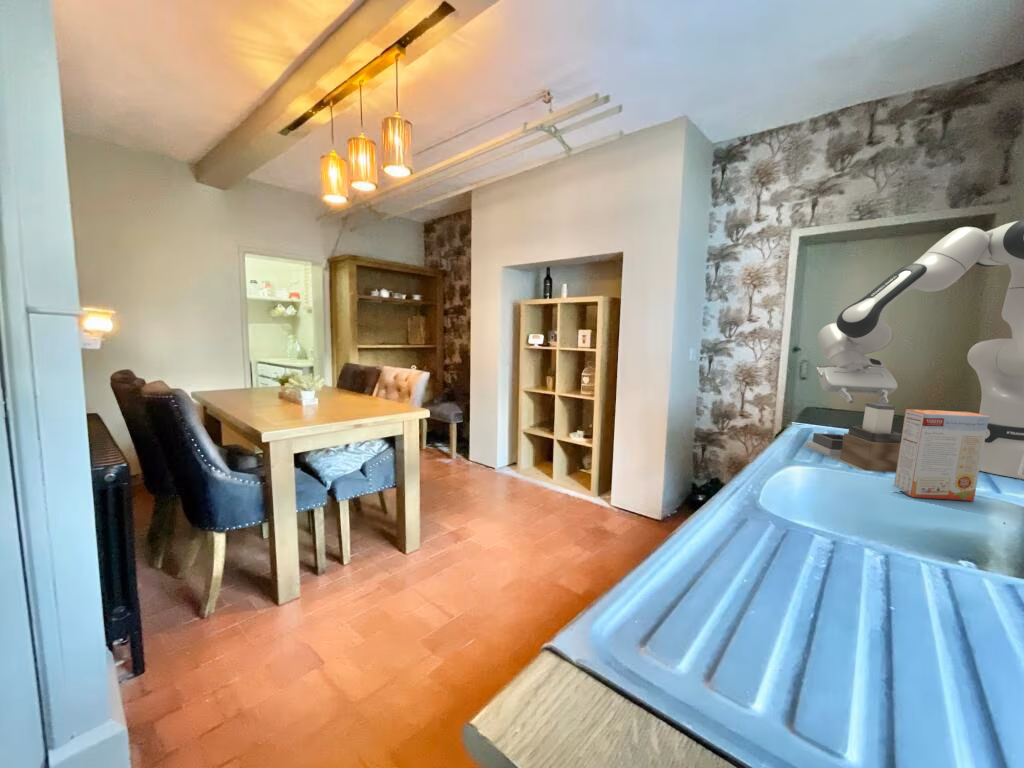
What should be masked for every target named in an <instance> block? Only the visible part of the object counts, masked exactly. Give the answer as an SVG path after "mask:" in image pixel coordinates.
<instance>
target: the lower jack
mask: <svg viewBox="0 0 1024 768" xmlns="http://www.w3.org/2000/svg"><path fill="white" fill-rule="evenodd" d="M812 436H813V437H812V440H806V445H808V446H810V447H812V448H815V449H817V450H819V451H821V452H824V453H826V454H828V455H841V450H842V443H843V437H844V434H840V433H839V434H838V433H823V432H822V433H821V432H820V433H819V432H818V433H817V432H814V433H813V435H812Z"/></svg>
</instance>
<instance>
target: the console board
mask: <svg viewBox="0 0 1024 768" xmlns="http://www.w3.org/2000/svg"><path fill="white" fill-rule="evenodd" d="M802 446H804V447H806V448H808V449H810V450H812V451H814V452H817V453H819V454H822V455H824V456H826V457H828V458H831V459H832V460H835V461H837V462H840V463H842V464H843V465H846V466H848V467H850V468H853V469H855V470H857V471H867V472H868V471H869V470H864V469H862V468H859V467H857V466H855V465H853V464H850V463H848V462H846V461H843V460H841V459H840V456H841V455H828V454H826V453H824V452H821V451H819V450H817V449H815V448H812V447H810V446H808V445H807V444H802ZM869 472H870V471H869ZM883 472H888V471H883ZM888 473H889V472H888Z"/></svg>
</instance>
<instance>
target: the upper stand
mask: <svg viewBox="0 0 1024 768" xmlns="http://www.w3.org/2000/svg"><path fill="white" fill-rule="evenodd" d="M843 435H844V437H843V443H842V450H841V456H840V459H841V460H843V461H846V462H848V463H850V464H853V465H855V466H857V467H859V468H862V469H864V470H863V471H865V470H869V472H870V471H871V472H884V471H888V473H896V470H897V463H898V457H899V450H900V444H901V437H902V433H900V432H896V431H892V430H891V433H873V432H870V431H867V430H864V429H862V426H858V425H857V426H855V425H854V426H853V425H849V427H848V433H845V432H844V433H843Z"/></svg>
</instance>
